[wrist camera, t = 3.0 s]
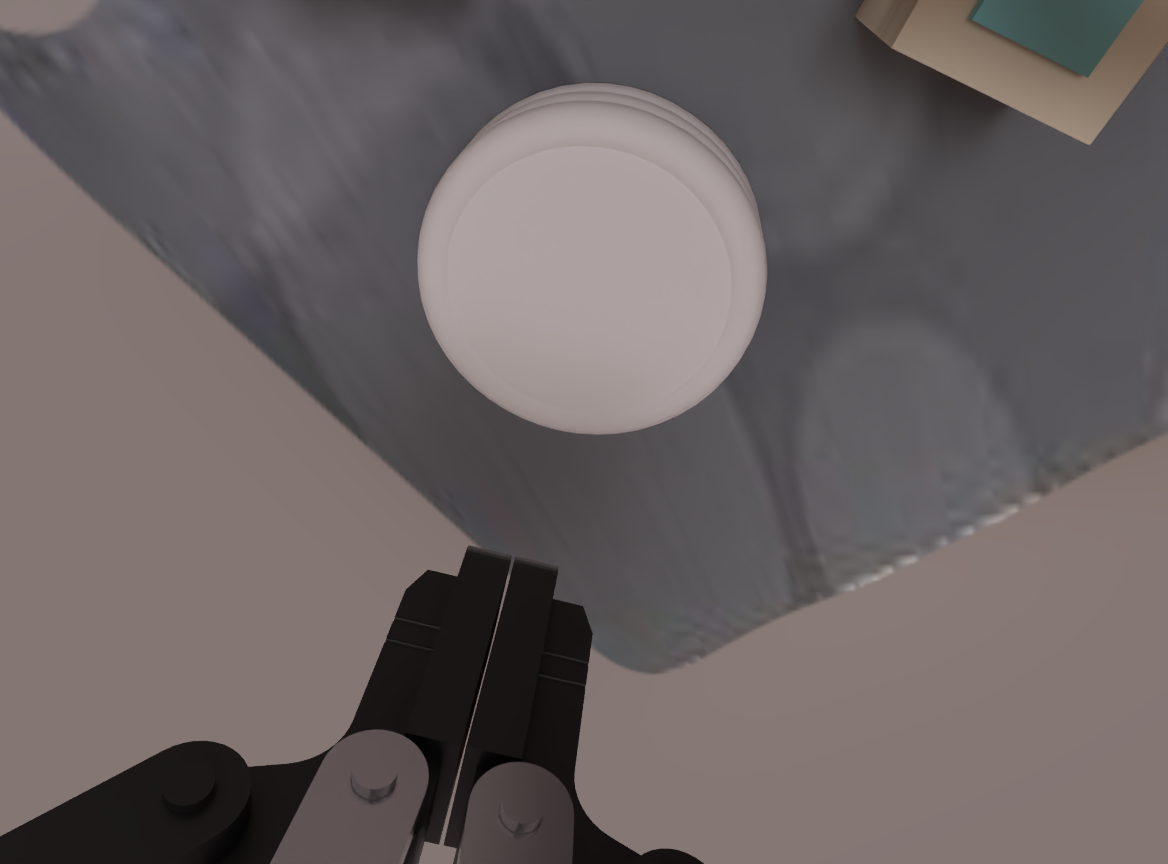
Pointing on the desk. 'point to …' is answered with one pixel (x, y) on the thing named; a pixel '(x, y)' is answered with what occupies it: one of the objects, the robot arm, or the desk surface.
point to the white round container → (593, 260)
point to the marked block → (1032, 50)
